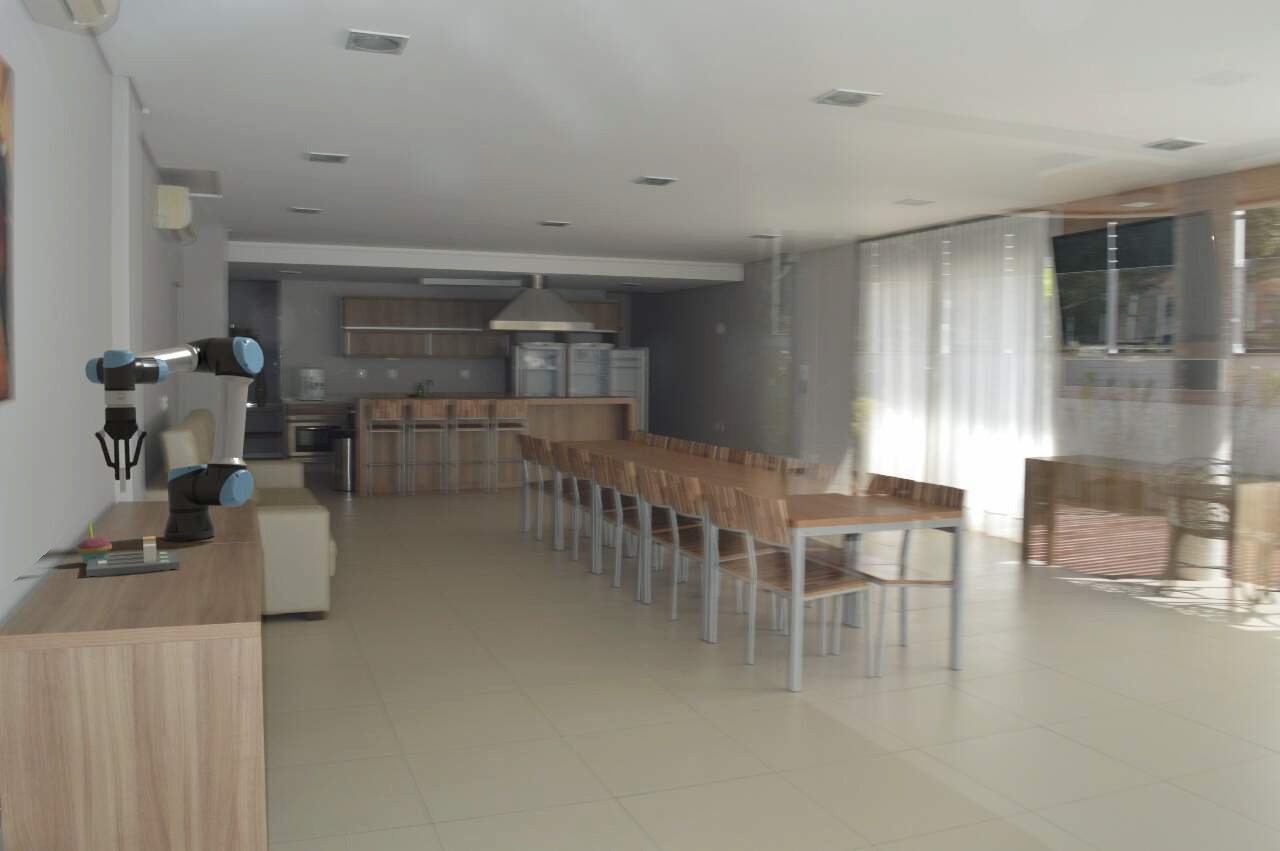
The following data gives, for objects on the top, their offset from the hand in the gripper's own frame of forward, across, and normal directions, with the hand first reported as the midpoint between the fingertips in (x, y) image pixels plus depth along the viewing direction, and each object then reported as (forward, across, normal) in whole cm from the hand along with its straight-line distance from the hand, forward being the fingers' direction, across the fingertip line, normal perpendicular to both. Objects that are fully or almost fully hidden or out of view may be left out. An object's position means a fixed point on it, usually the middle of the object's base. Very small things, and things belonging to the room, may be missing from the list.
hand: (123, 491), depth 271 cm
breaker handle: (+18, +6, -5) cm, 20 cm away
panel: (+20, +2, -5) cm, 21 cm away
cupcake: (+21, -8, +7) cm, 23 cm away
